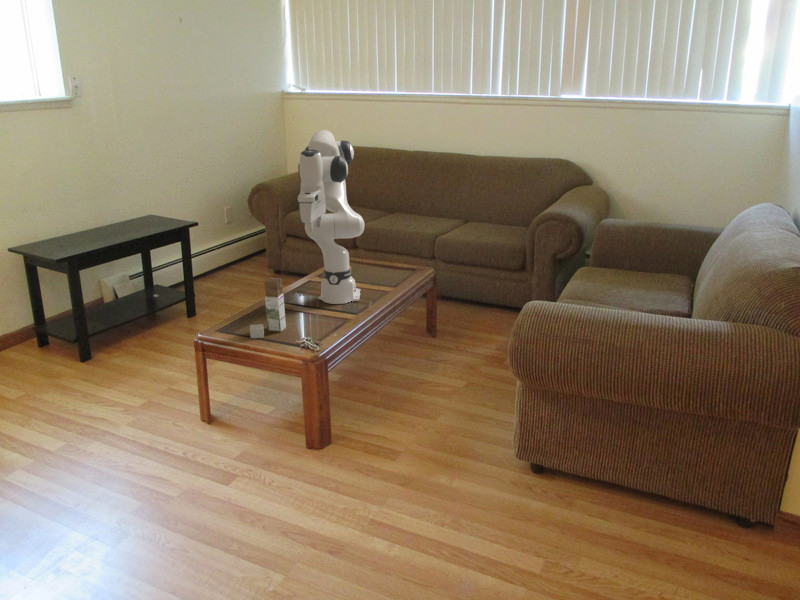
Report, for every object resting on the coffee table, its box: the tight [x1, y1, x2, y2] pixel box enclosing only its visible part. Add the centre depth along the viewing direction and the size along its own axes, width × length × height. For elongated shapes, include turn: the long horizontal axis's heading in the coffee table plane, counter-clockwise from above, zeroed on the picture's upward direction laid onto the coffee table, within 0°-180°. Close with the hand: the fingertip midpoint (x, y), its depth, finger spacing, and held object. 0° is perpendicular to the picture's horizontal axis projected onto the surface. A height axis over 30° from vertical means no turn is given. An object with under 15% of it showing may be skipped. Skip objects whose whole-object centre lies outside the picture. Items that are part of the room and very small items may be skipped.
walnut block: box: [264, 277, 284, 297], centre depth 267 cm, size 5×5×6 cm
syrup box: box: [264, 293, 287, 333], centre depth 270 cm, size 6×6×14 cm
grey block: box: [249, 323, 265, 339], centre depth 265 cm, size 5×5×4 cm
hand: (314, 229), depth 263 cm, fingers open, 8 cm apart
